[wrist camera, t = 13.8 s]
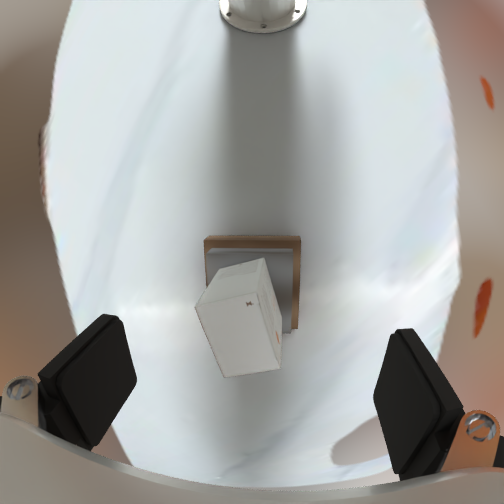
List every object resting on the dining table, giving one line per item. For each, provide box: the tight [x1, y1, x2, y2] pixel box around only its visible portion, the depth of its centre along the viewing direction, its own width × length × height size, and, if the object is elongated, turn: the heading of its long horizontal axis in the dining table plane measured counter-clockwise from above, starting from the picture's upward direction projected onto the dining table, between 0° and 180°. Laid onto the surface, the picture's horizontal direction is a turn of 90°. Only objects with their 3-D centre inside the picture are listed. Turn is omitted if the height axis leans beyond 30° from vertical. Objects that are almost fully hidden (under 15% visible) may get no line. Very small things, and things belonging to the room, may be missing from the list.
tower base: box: [204, 236, 301, 333], centre depth 37 cm, size 12×12×6 cm
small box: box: [195, 258, 282, 377], centre depth 29 cm, size 8×6×10 cm
